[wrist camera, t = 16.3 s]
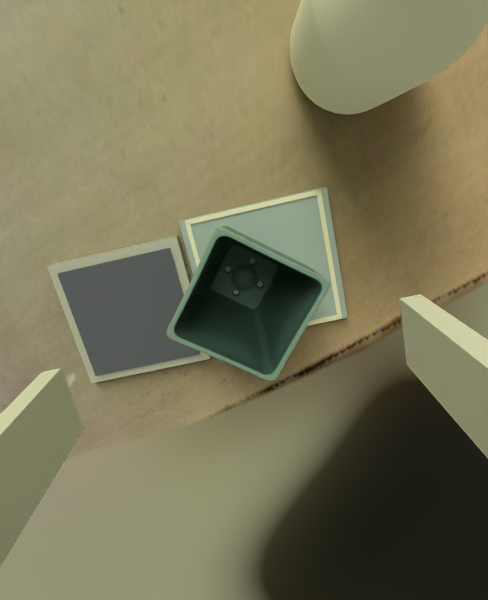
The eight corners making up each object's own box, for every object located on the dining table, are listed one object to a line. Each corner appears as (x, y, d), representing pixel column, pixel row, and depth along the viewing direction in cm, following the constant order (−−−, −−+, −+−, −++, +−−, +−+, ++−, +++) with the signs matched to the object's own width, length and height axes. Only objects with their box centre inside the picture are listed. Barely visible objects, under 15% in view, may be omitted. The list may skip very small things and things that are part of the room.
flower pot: (265, 337, 39) (273, 385, 30) (179, 298, 37) (163, 337, 29) (310, 255, 36) (333, 282, 28) (221, 210, 35) (216, 224, 26)
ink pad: (95, 378, 41) (90, 384, 40) (52, 263, 37) (45, 266, 36) (210, 354, 40) (209, 360, 39) (178, 234, 37) (175, 237, 35)
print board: (213, 342, 40) (212, 346, 39) (180, 220, 36) (178, 221, 35) (345, 314, 39) (348, 317, 38) (325, 186, 35) (327, 187, 34)
